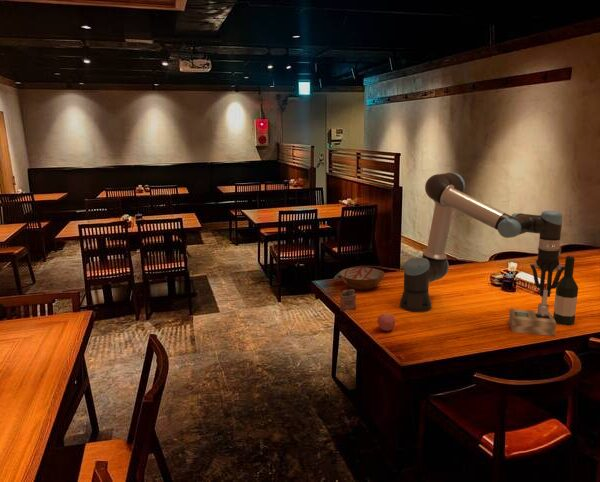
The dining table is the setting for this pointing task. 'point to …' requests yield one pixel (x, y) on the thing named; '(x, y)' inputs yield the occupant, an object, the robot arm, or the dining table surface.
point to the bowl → (361, 277)
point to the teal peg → (521, 314)
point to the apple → (386, 321)
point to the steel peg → (542, 311)
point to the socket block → (531, 323)
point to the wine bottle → (566, 295)
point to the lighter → (347, 300)
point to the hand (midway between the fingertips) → (543, 303)
